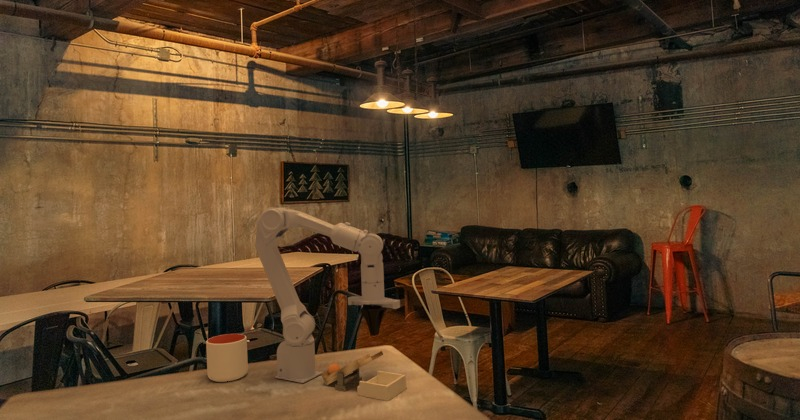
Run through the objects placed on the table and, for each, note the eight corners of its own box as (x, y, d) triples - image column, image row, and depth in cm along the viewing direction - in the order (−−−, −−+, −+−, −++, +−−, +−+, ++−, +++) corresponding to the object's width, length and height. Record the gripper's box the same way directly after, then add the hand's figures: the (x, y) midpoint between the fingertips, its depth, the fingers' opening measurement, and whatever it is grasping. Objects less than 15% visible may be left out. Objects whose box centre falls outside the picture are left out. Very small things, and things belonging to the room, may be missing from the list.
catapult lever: (326, 385, 123) (321, 374, 124) (350, 372, 132) (345, 361, 132) (360, 366, 118) (355, 354, 118) (383, 354, 126) (378, 343, 127)
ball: (325, 377, 124) (324, 364, 124) (333, 373, 127) (332, 361, 127) (335, 378, 123) (334, 365, 123) (343, 374, 125) (341, 362, 125)
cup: (235, 384, 126) (234, 344, 126) (199, 382, 128) (198, 343, 128) (255, 370, 136) (253, 333, 136) (221, 369, 138) (219, 333, 138)
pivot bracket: (335, 389, 120) (334, 372, 120) (352, 379, 126) (351, 363, 126) (345, 391, 119) (344, 374, 119) (362, 381, 125) (361, 365, 125)
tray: (357, 395, 116) (357, 381, 116) (376, 383, 124) (376, 370, 123) (388, 400, 112) (387, 386, 112) (406, 388, 119) (405, 374, 119)
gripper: (340, 282, 129) (342, 335, 129) (388, 285, 122) (390, 341, 122) (356, 278, 135) (357, 329, 135) (403, 280, 128) (405, 334, 128)
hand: (374, 334), depth 129 cm, fingers closed
